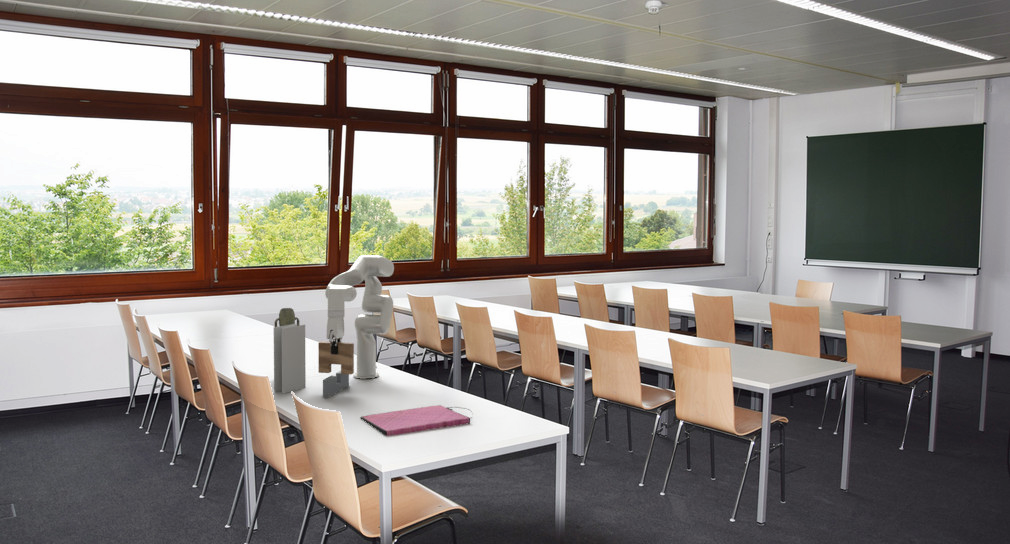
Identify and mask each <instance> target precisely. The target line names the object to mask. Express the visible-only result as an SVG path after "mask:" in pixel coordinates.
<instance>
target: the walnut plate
mask: <svg viewBox="0 0 1010 544" xmlns="http://www.w3.org/2000/svg"><path fill="white" fill-rule="evenodd" d="M337 346H338V354H337V355H336V354H331V343H330V342H329V341H319V342H318V373H319V374H330V373H332V365H340V371H341V374H349V375H352V374H353V375H354V374H355V367H354V366H355V363H354V361H355V360H354V359H355V357H354V356H355V350H354V348H355V344H354V342H342V343H340V342H337Z"/></svg>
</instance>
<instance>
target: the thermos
mask: <svg viewBox="0 0 1010 544" xmlns="http://www.w3.org/2000/svg"><path fill="white" fill-rule="evenodd" d="M292 324H297V326H300V319H299V318H298V317H296V314H295V311H294V309H293V308H291V307H283V308H281V309H280V310H279V314H278V318H276V319H275V320H274V327H279V326H285V325H292ZM278 325H279V326H278Z"/></svg>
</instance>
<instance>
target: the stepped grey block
mask: <svg viewBox="0 0 1010 544" xmlns="http://www.w3.org/2000/svg"><path fill="white" fill-rule="evenodd" d="M347 386H348V387H349V386H350V374H341V370H339V371H337V372H336V373H335V375H330V376H327V377H326V378H324V379H322V398H323V397H324V398H325V399H328V397H329V398H330V397H332V396H334V395H336V394H337V393H339V392H341V391H342V389H343V390H344V389H346V388H348V387H347ZM345 387H346V388H345ZM340 390H341V391H340ZM335 393H336V394H335Z"/></svg>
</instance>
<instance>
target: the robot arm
mask: <svg viewBox="0 0 1010 544" xmlns="http://www.w3.org/2000/svg"><path fill="white" fill-rule="evenodd" d="M394 270H395V265H394V262H393V261H392V260H390V259H388V258H387V257H384V256H382V255H373V254H371V255H367V254H366V255H365V254H364V255H359V256H358V257H357V258H356V260H355V261H354V263H352V265H351V267H350V268H349V269H348V270H346V271H345V272H342V273H340V274H338V275H336V276H335V277H333V278H332V279H331V280H330V282H329V283H328V285H327V287H326V289H325V298H326V299H327V321H326V322H327V324H326V339H327V340H328V342H330V343H331V354H336V355H337V354H338V346H337V342H340V343H343V342H342V341H343V338H344V335H345V319H344V318H345V302H346V303H348V302H349V303H350V302H352V301H354V300H355V299H356V297H357V294H358V293H357V289H356V288H355V287H354V286H357V285H359V284H362V282H365V283H364V285H365V286H364V287H365V288H364V292H363V296H362V302H361V310H362V311H363V312H365V314H364V313H363V314H359V315H357V316H356V317H355V319H354V327H355V334H356V372H354V373H353V377H354V378H355V379H358V378H360V380H367V379H366V378H372V379H376V378H375V377H377V378H379V376H380V374H379V373H378V372H377V368H378V367H377V342H376V341H377V340H376V339H375V337H374V335H386V334H387V333H388V332H389V330H390V327H391V326H390V325H391V323H392V315H393V311H394V300H393V298H392V296H390V295H387V294H382V291H383V285H382V283H381V281H380V280H379V278H378V277H386V278H387V277H391V276H392V275H393V274H394V272H395V271H394ZM366 313H367V314H366ZM369 313H370V314H369Z"/></svg>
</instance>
